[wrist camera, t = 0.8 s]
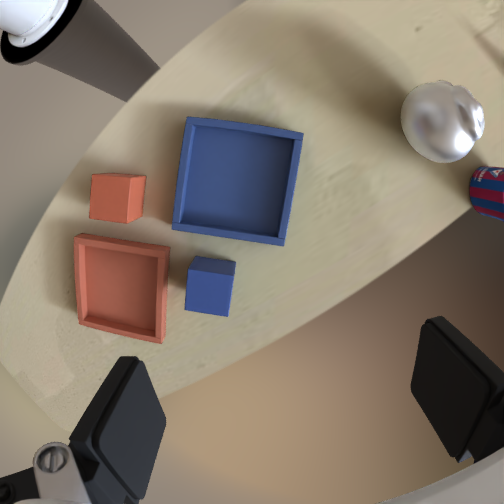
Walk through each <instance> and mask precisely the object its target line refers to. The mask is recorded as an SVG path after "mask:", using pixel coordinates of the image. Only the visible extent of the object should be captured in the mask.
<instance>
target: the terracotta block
mask: <svg viewBox="0 0 504 504" xmlns="http://www.w3.org/2000/svg"><path fill="white" fill-rule="evenodd" d="M145 184H146V176H141V175H130V174H119V173H102V174H92V181H91V194H90V211H89V218H90V219H97V220H104V221H111V222H118V223H126V224H127V223H129V222H131V221H134V220H136V219H138V218H140V217H142V215H143V203H144V193H145Z"/></svg>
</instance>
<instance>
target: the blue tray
mask: <svg viewBox="0 0 504 504" xmlns="http://www.w3.org/2000/svg"><path fill="white" fill-rule="evenodd" d="M303 135H304V133H300V132H295V131H290V130H285V129H279V128H274V127H268V126H262V125H255V124H249V123H242V122H234V121H226V120H218V119H209V118H199V117H187V119H186V125H185V130H184V136H183V142H182V149H181V156H180V162H179V169H178V177H177V185H176V193H175V201H174V210H173V219H172V230H178V231H185V232H191V233H198V234H205V235H212V236H219V237H225V238H232V239H239V240H245V241H252V242H258V243H265V244H272V245H278V246H284V244H285V238H286V233H287V228H288V222H289V217H290V211H291V206H292V200H293V195H294V189H295V183H296V177H297V171H298V165H299V159H300V153H301V147H302V140H303Z"/></svg>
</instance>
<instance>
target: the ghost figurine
mask: <svg viewBox="0 0 504 504" xmlns="http://www.w3.org/2000/svg"><path fill="white" fill-rule="evenodd" d="M401 124H402V129H403V132H404V134H405V137H406V139H407V140H408V142H409V143H410V145H411V146H412V147H413V148H414V149H415V150H416V151H417V152H418V153H419V154H420V155H422V156H423V157H425V158H427V159H429V160H431V161H435V162H440V163H449V162H454V161H457V160H459V159H461V158H462V157H464V156H465V155H466V154H467V153H468V152H469V151H470V150H471V148H472V146H473V144H474V142H475V141H476V140H478V139H479V138H480V137H481V136H482V133H483V130H484V118H483V108H482V106H481V104H480V103H479V102H478V101H477V100H476V99H475V98H474V97H473V95H472V93H471V92H470V91H469V90H468V89H467V88H466V87H464V86H462V85H454V86H453V85H452V84H451V83H449V82H447V81H444V80H439V81H437V82H431V83H425V84H422V85H419V86H417V87H416V88H414V89H413V90H412V91H411V92H410V93H409V94H408V95H407V97H406V98H405V100H404V103H403V105H402V109H401Z"/></svg>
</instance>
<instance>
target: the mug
mask: <svg viewBox="0 0 504 504" xmlns="http://www.w3.org/2000/svg"><path fill="white" fill-rule="evenodd" d="M470 198H471V202H472V205H473V207H474V208H475V210H476V211H477V212H478V213H480V214H483V215H486V216H490V217H493V218H496V219H500V220H503V221H504V168H500V167H488V166H482V167H479V168H478V169H477V170H476V171H475V172H474V174H473V176H472V178H471V182H470Z"/></svg>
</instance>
